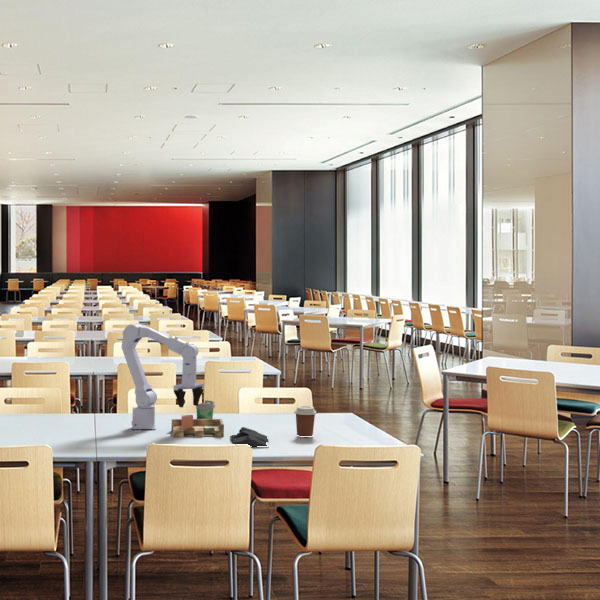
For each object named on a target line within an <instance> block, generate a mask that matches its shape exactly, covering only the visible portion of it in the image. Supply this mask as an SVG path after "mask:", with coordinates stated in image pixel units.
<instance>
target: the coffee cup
mask: <svg viewBox="0 0 600 600" xmlns="http://www.w3.org/2000/svg"><path fill="white" fill-rule="evenodd" d="M293 413H294V414H295V421H296V422H295V423H296V425H295V427H296V436H297V435H299V436H312V435H313V436H314V427H315V416H316V415H317V411H316V409H315V407H314V406H310V405H299V406H297V407H296V409H294V412H293Z"/></svg>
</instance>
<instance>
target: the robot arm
mask: <svg viewBox="0 0 600 600" xmlns="http://www.w3.org/2000/svg"><path fill="white" fill-rule="evenodd" d="M121 334H122V340H121V350H122V353H123V356H124V359H125V361H126V364H127V367H128V369H129V373H130V376H131V378H132V381H133V384H134V386H135V389H134V394H135V404H136V405H137V407H132V418H131V419H132V420H131V428H132V429H152V430H156V423H155V421H156V417H155V416H156V405H155V403H156V402H157V400H158V396H157V393H156V392H155V391H154V390H153V388H152V385H150V383H148V380H147V378H146V374H145V371H144V369H143V365H142V363H141V361H140V358H139V355H138V352H137V349H136V347H137V346H138V344H139V341H141V339H142V338H143V339H144V338H149V339H152V340H153V341H157V342H159V343H161V344H162V345H165V347H166V349H167V350H169V351H172V352H173V353H175V354H178V355H179V356H181V357H182V374H181V375H182V376H181V378H182V379H181V383H180V384H174V385H173V393H174V395H175V397H176V400H177V404H178V407H179V408H184V405H185V395H186V391H185V390H191V392H192V403H193V406H198V404H200V402H199V401H200V399H201V397H202V395H203V393H204V392H205V391H204V388H205V383H203V382H197V356H198V355H199V348H198V347H197V345H195V344H194V343H191V344H189V343H190V342H189V341H184V340H181V339H179V338H180V337H179V336H177V335H176V336H170V337H169V336H166V335H165V334H163V333H161V332H159V331H158V330H155V329H153V328H152V327H150V326H148V325H144V324H142V323H135V324H128V325H126V326H125V328H124V329H123V331H122V332H121ZM132 429H131V430H132Z"/></svg>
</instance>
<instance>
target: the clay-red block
mask: <svg viewBox="0 0 600 600" xmlns="http://www.w3.org/2000/svg"><path fill="white" fill-rule="evenodd" d="M181 419H182V422H181V426H182V428H193V419H194V415H193V414H181Z"/></svg>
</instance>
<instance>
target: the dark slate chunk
mask: <svg viewBox="0 0 600 600" xmlns="http://www.w3.org/2000/svg"><path fill="white" fill-rule="evenodd" d="M229 437H230V439H231V441H232V442H233V443H234V445H236V444H248V445H250V446H252V447H251V448H254V447H257V446H267V445H266V442H269V438H268V439H267V437H268V436H267V435H265V434H263V433H260V432H258V431H256V430H254V429H251V428H249V427H248V428H247V427H245V426H243V427H242V426H241V428H240V429H239V431H238V433H236V434H231V435H230V436H229Z"/></svg>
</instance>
